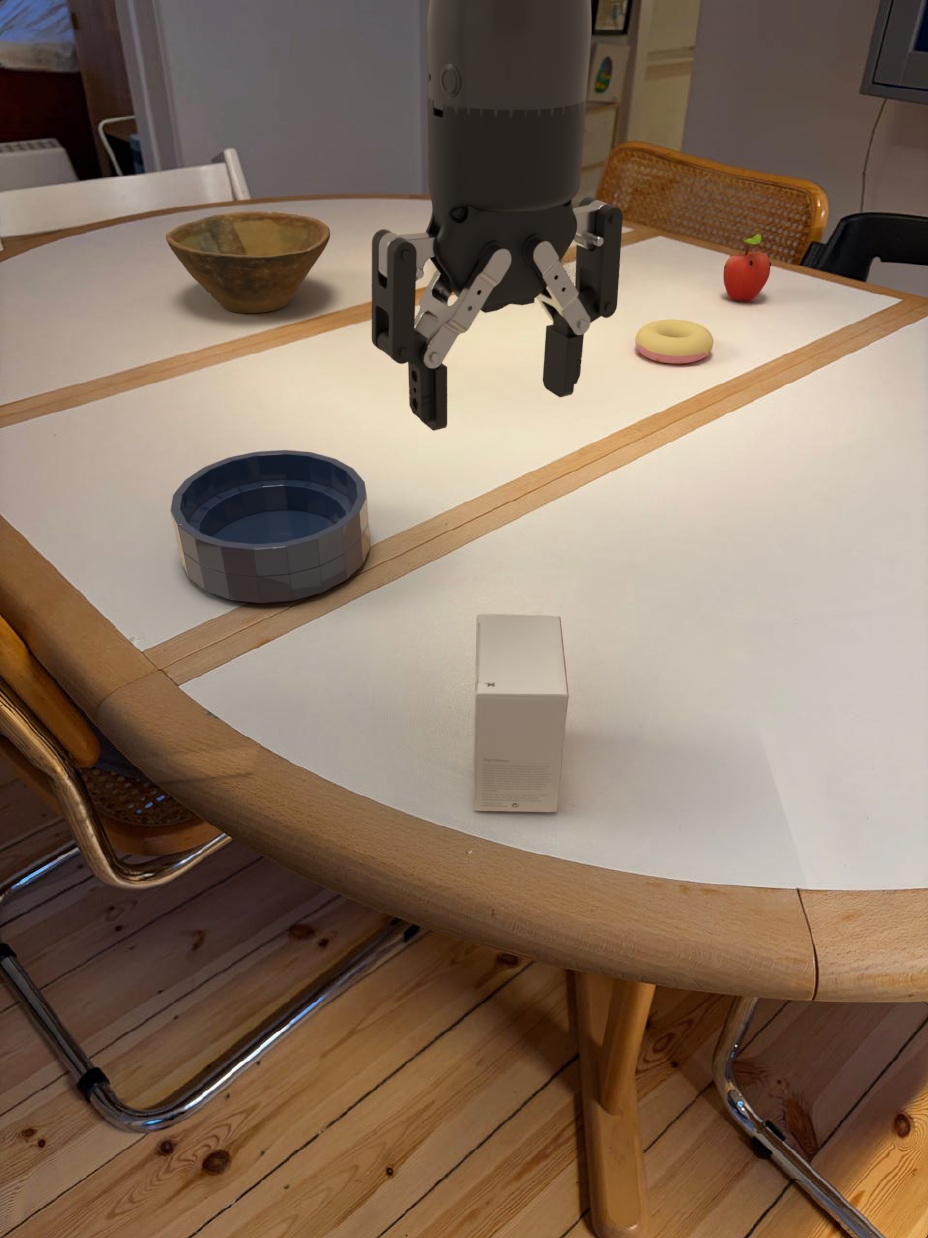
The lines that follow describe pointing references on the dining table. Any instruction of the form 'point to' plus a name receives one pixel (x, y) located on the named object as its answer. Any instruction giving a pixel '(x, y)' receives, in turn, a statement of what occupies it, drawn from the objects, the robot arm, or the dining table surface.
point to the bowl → (250, 256)
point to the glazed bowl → (271, 525)
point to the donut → (674, 341)
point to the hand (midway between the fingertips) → (496, 407)
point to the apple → (746, 273)
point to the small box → (519, 712)
